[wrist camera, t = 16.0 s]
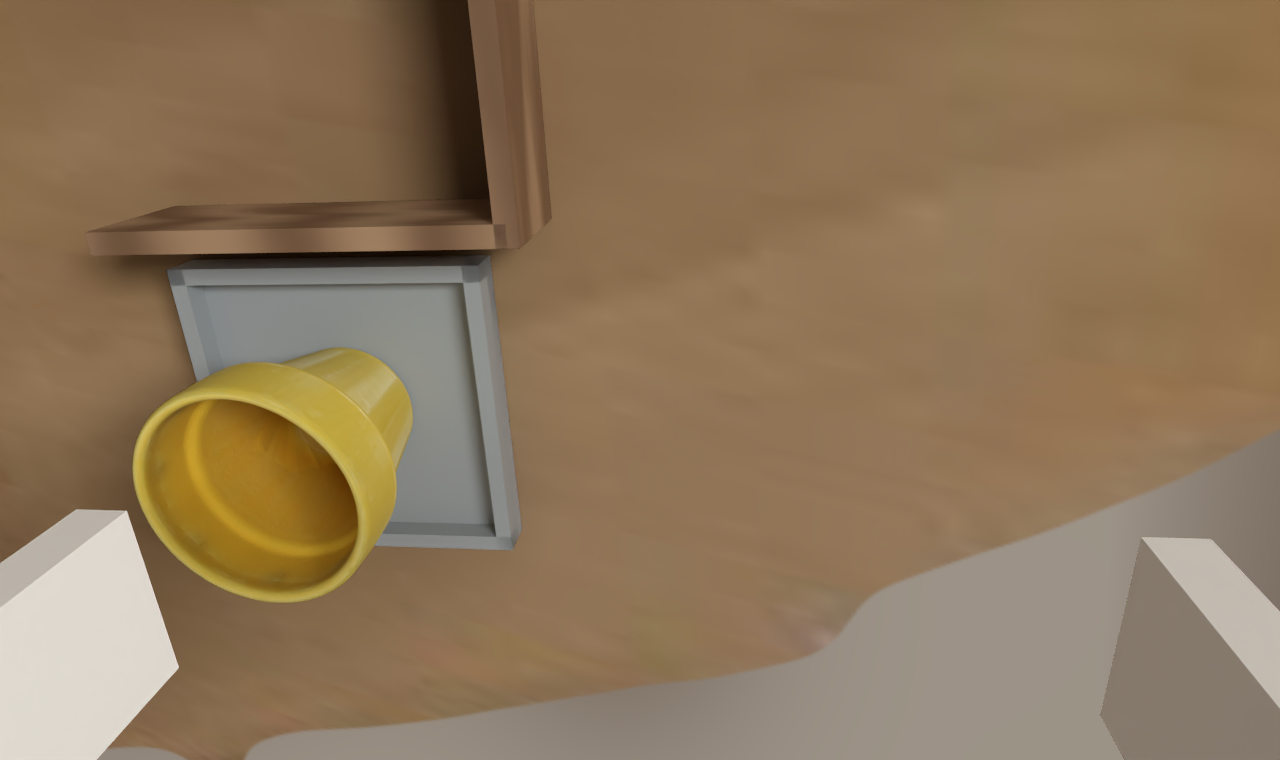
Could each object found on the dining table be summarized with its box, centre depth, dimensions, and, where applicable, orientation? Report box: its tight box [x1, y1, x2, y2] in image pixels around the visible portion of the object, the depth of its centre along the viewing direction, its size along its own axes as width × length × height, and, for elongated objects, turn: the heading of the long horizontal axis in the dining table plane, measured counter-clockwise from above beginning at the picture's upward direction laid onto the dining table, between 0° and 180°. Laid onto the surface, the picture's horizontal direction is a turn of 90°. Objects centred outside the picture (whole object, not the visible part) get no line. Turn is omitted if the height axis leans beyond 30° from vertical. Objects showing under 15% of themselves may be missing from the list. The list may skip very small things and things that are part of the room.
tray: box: [167, 255, 522, 550], centre depth 42 cm, size 16×16×2 cm
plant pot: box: [132, 347, 413, 603], centre depth 38 cm, size 10×10×10 cm
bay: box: [84, 0, 552, 256], centre depth 34 cm, size 19×15×6 cm
